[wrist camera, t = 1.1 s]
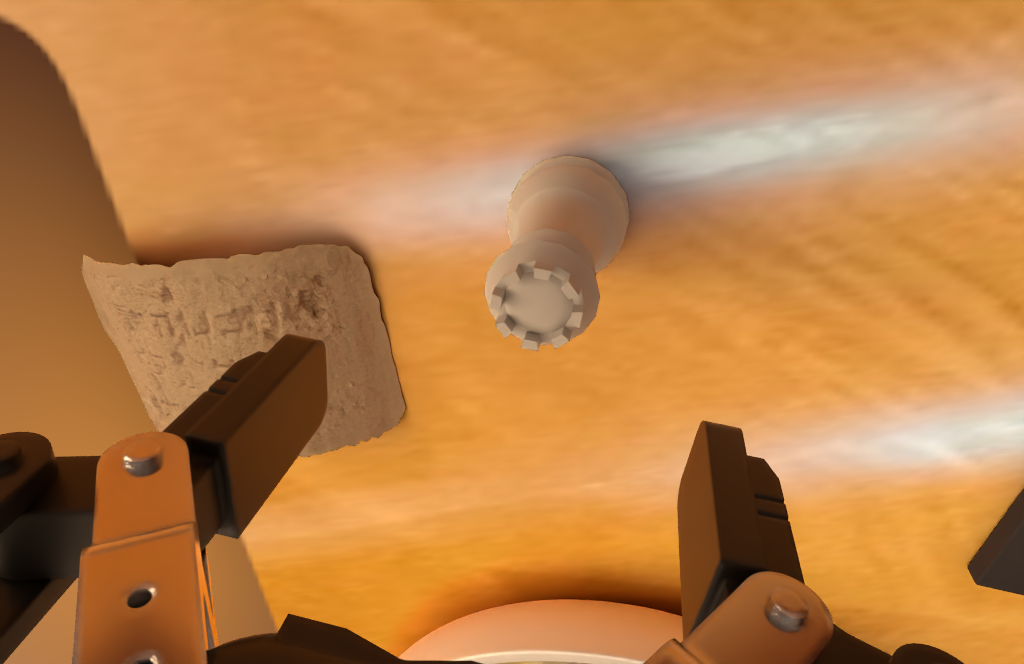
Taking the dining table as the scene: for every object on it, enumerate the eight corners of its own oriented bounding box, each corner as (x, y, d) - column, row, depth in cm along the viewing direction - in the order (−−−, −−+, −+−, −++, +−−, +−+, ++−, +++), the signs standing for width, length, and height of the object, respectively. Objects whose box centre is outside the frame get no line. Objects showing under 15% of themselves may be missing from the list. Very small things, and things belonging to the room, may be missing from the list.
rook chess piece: (496, 241, 25) (437, 345, 18) (534, 132, 23) (482, 205, 16) (602, 283, 25) (581, 402, 18) (651, 179, 23) (648, 271, 16)
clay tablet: (159, 426, 34) (123, 459, 32) (70, 249, 29) (21, 273, 27) (413, 426, 31) (394, 464, 29) (359, 227, 26) (331, 252, 24)
